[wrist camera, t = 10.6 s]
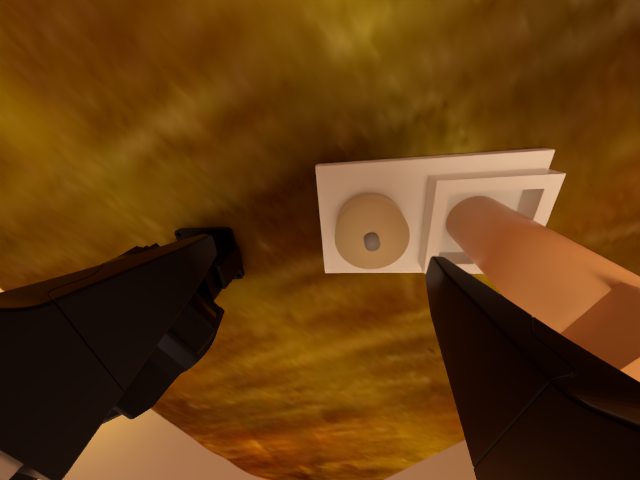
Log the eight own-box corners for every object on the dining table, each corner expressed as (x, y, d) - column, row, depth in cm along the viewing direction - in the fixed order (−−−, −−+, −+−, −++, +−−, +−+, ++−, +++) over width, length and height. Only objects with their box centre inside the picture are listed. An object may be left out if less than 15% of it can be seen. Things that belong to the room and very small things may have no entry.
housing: (326, 266, 26) (321, 298, 21) (317, 164, 21) (307, 176, 16) (504, 265, 23) (542, 301, 19) (543, 147, 18) (608, 157, 14)
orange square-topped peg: (436, 234, 21) (561, 393, 9) (463, 188, 19) (676, 311, 7) (481, 248, 21) (666, 424, 9) (513, 205, 19) (811, 355, 7)
